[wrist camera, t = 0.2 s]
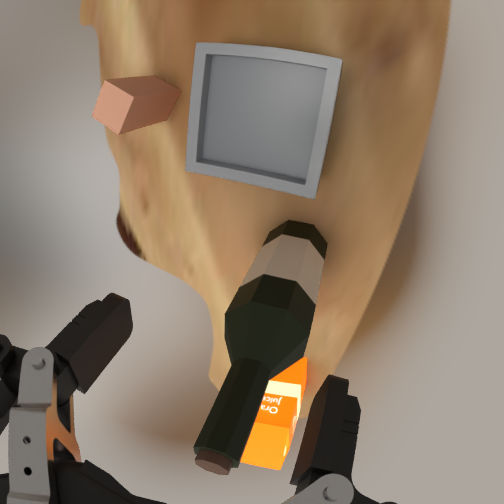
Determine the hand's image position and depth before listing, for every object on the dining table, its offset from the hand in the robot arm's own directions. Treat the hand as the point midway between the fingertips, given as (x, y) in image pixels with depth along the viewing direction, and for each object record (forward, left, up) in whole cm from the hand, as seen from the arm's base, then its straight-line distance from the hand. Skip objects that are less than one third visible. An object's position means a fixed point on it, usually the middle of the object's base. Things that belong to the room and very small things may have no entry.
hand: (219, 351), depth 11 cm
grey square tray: (-5, -6, -29) cm, 30 cm away
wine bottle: (+12, 0, -29) cm, 32 cm away
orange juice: (+37, +3, -29) cm, 47 cm away
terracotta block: (-5, -21, -29) cm, 36 cm away
